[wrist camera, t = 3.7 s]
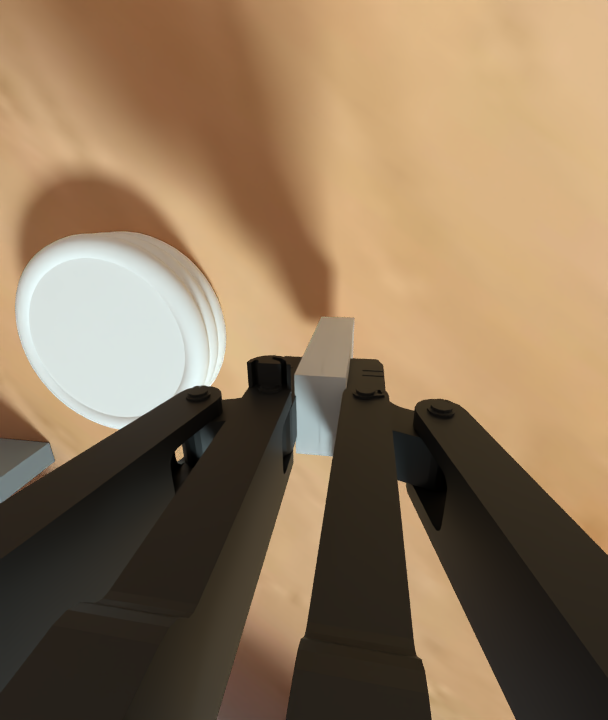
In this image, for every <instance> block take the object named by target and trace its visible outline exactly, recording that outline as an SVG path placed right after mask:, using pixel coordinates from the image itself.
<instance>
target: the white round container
mask: <svg viewBox="0 0 608 720" xmlns="http://www.w3.org/2000/svg"><path fill="white" fill-rule="evenodd" d="M15 313H16V324H17V329H18V334H19V337H20V340H21V344H22V347H23V349H24V351H25V354H26V356H27V358H28V360H29V362H30V364H31V366H32V367H33V369H34V371H35V372H36V374H37V375H38V377H39V378H40V379H41V381H42V382H43V383H44V384H45V385H46V387H47V388H48V389H49V390H50V391H51V392H52V393H53V394H54V395H55V396H56V397H57V398H58V399H59V400H60V401H62V402H63V403H64V404H65V405H66V406H68V407H69V408H71V409H72V410H74V411H75V412H77V413H78V414H80V415H82V416H84V417H85V418H87V419H89V420H91V421H94V422H96V423H98V424H101V425H104V426H107V427H110V428H115V429H121V428H123V427H125V426H126V425H128V424H130V423H131V422H133V421H134V420H136V419H138V418H139V417H141V416H142V415H144V414H146V413H147V412H149V411H151V410H152V409H154V408H155V407H157V406H159V405H160V404H162V403H164V402H165V401H167V400H168V399H170V398H172V397H173V396H175V395H176V394H178V393H180V392H182V391H184V390H186V389H189V388H193V387H194V386H201V385H205V386H211V385H212V383H213V382H214V381H215V379H216V377H217V375H218V373H219V371H220V369H221V366H222V363H223V359H224V354H225V349H226V328H225V321H224V316H223V312H222V309H221V306H220V303H219V300H218V298H217V296H216V294H215V292H214V290H213V288H212V287H211V285H210V283H209V282H208V280H207V279H206V277H205V276H204V275H203V273H202V272H201V271H200V270H199V269H198V267H197V266H196V265H195V264H194V263H193V262H192V261H191V260H190V259H189V258H187V257H186V256H185V255H184V254H182V253H181V252H180V251H178V250H177V249H176V248H174V247H172V246H170V245H169V244H167V243H165V242H163V241H161V240H158V239H156V238H154V237H151V236H148V235H144V234H141V233H136V232H128V231H115V232H100V233H91V234H77V235H71V236H67V237H64V238H61V239H59V240H57V241H55V242H53V243H51V244H49V245H47V246H45V247H44V248H43V249H42V250H40V251H39V252H38V253H36V255H35V256H34V257H33V258H32V259H31V260H30V261H29V263H28V264H27V266H26V267H25V269H24V271H23V273H22V275H21V278H20V280H19V283H18V287H17V292H16V301H15Z"/></svg>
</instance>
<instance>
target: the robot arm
mask: <svg viewBox="0 0 608 720" xmlns="http://www.w3.org/2000/svg"><path fill="white" fill-rule="evenodd" d="M353 342H354V318H350V317H321V318H320V320H319V323H318V325H317V327H316V329H315V331H314V333H313V335H312V338H311V340H310V342H309V344H308V346H307V348H306V350H305V353H304V355H303V357H292V356H285V357H282V356H275V355H270V356H260V357H256V358H253V359H251V360H249V361H248V362H247V370H248V383H249V388H248V389H247V391H246V392H245V394H244V395H243V397H242V398H237V399H227V400H222V395H221V391H220V390H219V389H218V388H215V387H211V386H205V385H201V386H194V387H193V388H189V389H186V390H184V391H182V392H180V393H178V394H176V395H175V396H173V397H172V398H170V399H168V400H167V401H165V402H164V403H162V404H160V405H159V406H157V407H155V408H154V409H152V410H151V411H149V412H147V413H146V414H144V415H142V416H141V417H139V418H138V419H136V420H134V421H133V422H131V423H130V424H128V425H126V426H125V427H123V428H121V429H120V430H118V431H117V432H115V433H113V434H112V435H110V436H108V437H107V438H105V439H104V440H102V441H100V442H99V443H97V444H96V445H94V446H92V447H91V448H89V449H87V450H86V451H84V452H83V453H81V454H79V455H78V456H76V457H74V458H73V459H71V460H70V461H68V462H66V463H65V464H63V465H62V466H60V467H58V468H57V469H55V470H53V471H52V472H50V473H49V474H47V475H45V476H44V477H42V478H40V479H39V480H37V481H36V482H34V483H32V484H31V485H29V486H28V487H26V488H24V489H23V490H21V491H19V492H18V493H16V494H15V495H13V496H11V497H10V498H8V499H6V500H5V501H3V502H2V503H0V720H216V719H217V716H218V712H219V709H220V706H221V702H222V699H223V696H224V692H225V689H226V685H227V682H228V679H229V675H230V672H231V669H232V665H233V662H234V659H235V655H236V652H237V649H238V645H239V642H240V639H241V635H242V632H243V629H244V625H245V622H246V619H247V615H248V612H249V609H250V605H251V602H252V599H253V595H254V592H255V589H256V585H257V582H258V579H259V575H260V572H261V569H262V565H263V562H264V559H265V555H266V552H267V549H268V545H269V542H270V539H271V535H272V532H273V529H274V525H275V522H276V519H277V515H278V512H279V509H280V505H281V502H282V499H283V495H284V492H285V489H286V485H287V482H288V479H289V475H290V472H291V469H292V465H293V447H294V444H295V441H296V453H301V454H312V455H323V456H333V459H332V466H331V472H330V479H329V485H328V492H327V498H326V505H325V511H324V518H323V524H322V531H321V537H320V544H319V550H318V557H317V563H316V570H315V576H314V583H313V589H312V596H311V602H310V609H309V615H308V622H307V627H306V632H305V636H304V637H303V638H301V641H300V644H299V647H298V652H297V657H296V662H295V667H294V673H293V679H292V685H291V691H290V697H289V703H288V709H287V715H286V720H432V719H431V711H430V703H429V694H428V688H427V681H426V675H425V670H424V666H423V663H422V659H420V658H418V657H417V655H416V652H415V646H414V639H413V629H412V619H411V609H410V599H409V590H408V580H407V570H406V560H405V550H404V540H403V531H402V521H401V511H400V501H399V491H398V481H397V480H399V481H402V482H405V483H406V488H407V493H408V495H409V497H410V499H411V501H412V503H413V505H414V507H415V509H416V511H417V513H418V516H419V518H420V520H421V522H422V524H423V526H424V528H425V530H426V532H427V534H428V536H429V539H430V541H431V543H432V545H433V547H434V549H435V551H436V553H437V555H438V557H439V560H440V562H441V564H442V566H443V568H444V570H445V572H446V574H447V576H448V578H449V580H450V583H451V585H452V587H453V589H454V591H455V593H456V595H457V597H458V599H459V601H460V603H461V606H462V608H463V610H464V612H465V614H466V616H467V618H468V620H469V622H470V624H471V627H472V629H473V631H474V633H475V635H476V637H477V639H478V641H479V643H480V645H481V647H482V650H483V652H484V654H485V656H486V658H487V660H488V662H489V664H490V666H491V668H492V671H493V673H494V675H495V677H496V679H497V681H498V683H499V685H500V687H501V689H502V691H503V694H504V696H505V698H506V700H507V702H508V704H509V706H510V708H511V710H512V712H513V714H514V717H515V719H516V720H608V555H607V554H606V553H605V552H604V551H603V550H602V549H601V548H600V547H599V546H598V545H597V544H596V543H595V542H594V541H593V540H592V539H591V538H590V537H589V536H588V535H587V534H586V533H585V532H584V531H583V530H582V528H581V527H580V526H579V525H578V524H577V523H576V522H575V521H574V520H573V519H572V518H571V517H570V516H569V515H568V514H567V513H566V512H565V511H564V510H563V509H562V508H561V507H560V506H559V505H558V504H557V503H556V502H555V501H554V500H553V499H552V498H551V497H550V496H549V495H548V494H547V493H546V492H545V491H544V490H543V489H542V488H541V487H540V486H539V485H538V483H537V482H536V481H535V480H534V479H533V478H532V477H531V476H530V475H529V474H528V473H527V472H526V471H525V470H524V469H523V468H522V467H521V466H520V465H519V464H518V463H517V462H516V461H515V460H514V459H513V458H512V457H511V456H510V455H509V454H508V453H507V452H506V451H505V450H504V449H503V448H502V447H501V446H500V445H499V444H498V443H497V442H496V441H495V439H494V438H493V437H492V436H491V435H490V434H489V433H488V432H487V431H486V430H485V429H484V428H483V427H482V426H481V425H480V424H479V423H478V422H477V421H476V420H475V419H474V418H473V417H472V416H471V415H470V414H469V413H468V412H467V411H466V410H465V409H464V408H462V407H461V406H460V405H458V404H455V403H453V402H451V401H448V400H444V399H428V400H423V401H421V402H418V403H417V404H416V406H415V411H413V410H408V409H405V408H401V407H399V406H396V405H394V404H393V403H391V402H390V401H389V395H388V393H387V392H386V391H385V380H384V369H383V365H382V364H381V363H380V362H379V361H378V360H376V359H355V358H353ZM181 445H182V447H183V454H184V457H183V458H182V459H181V460H180V461H176V457H175V451H176V449H177V448H178V447H179V446H181Z"/></svg>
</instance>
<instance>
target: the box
mask: <svg viewBox="0 0 608 720" xmlns="http://www.w3.org/2000/svg"><path fill="white" fill-rule="evenodd" d="M54 461H55V460H54V457H53V454H52V450H51V447H50V444H49V443H46V442H36V441H25V440H15V439H4V438H0V503H2V502H3V501H5V500H6V499H7V498H9V497H10V496H11V495H12V494H14V493H15V492H16V491H18V490H19V489H20V488H21V487H23V486H24V485H25V484H26V483H28V482H29V481H30V480H32V479H33V478H34V477H35V476H37V475H38V474H39V473H40V472H42V471H43V470H44V469H46V468H47V467H48V466H49V465H51V464H52V463H53V462H54Z"/></svg>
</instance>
